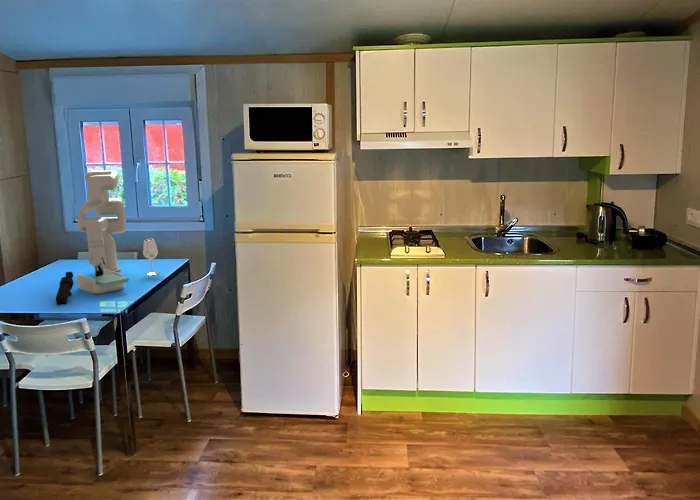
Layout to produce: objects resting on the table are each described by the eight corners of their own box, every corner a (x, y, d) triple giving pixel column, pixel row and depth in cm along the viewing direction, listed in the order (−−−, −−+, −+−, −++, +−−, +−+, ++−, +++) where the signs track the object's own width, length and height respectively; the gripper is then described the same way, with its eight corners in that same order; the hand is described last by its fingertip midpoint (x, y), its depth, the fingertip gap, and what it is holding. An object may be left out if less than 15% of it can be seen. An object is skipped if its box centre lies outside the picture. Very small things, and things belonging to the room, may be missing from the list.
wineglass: (155, 275, 341) (152, 241, 336) (142, 275, 342) (139, 240, 338) (162, 272, 348) (159, 238, 344) (149, 272, 350) (146, 238, 346)
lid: (89, 281, 309) (88, 278, 308) (113, 276, 318) (113, 273, 318) (103, 287, 298) (103, 283, 298) (128, 281, 308) (128, 278, 307)
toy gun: (77, 285, 311) (74, 268, 306) (69, 312, 290) (65, 295, 285) (66, 286, 310) (62, 269, 305) (57, 313, 289) (53, 296, 284)
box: (78, 288, 317) (76, 273, 315) (106, 282, 327) (104, 268, 326) (95, 294, 303) (94, 279, 302) (123, 288, 314) (122, 274, 312)
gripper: (82, 243, 313) (86, 277, 317) (95, 246, 303) (99, 281, 307) (96, 240, 318) (100, 274, 322) (109, 244, 308) (113, 278, 312)
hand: (99, 277), depth 314 cm, fingers closed
